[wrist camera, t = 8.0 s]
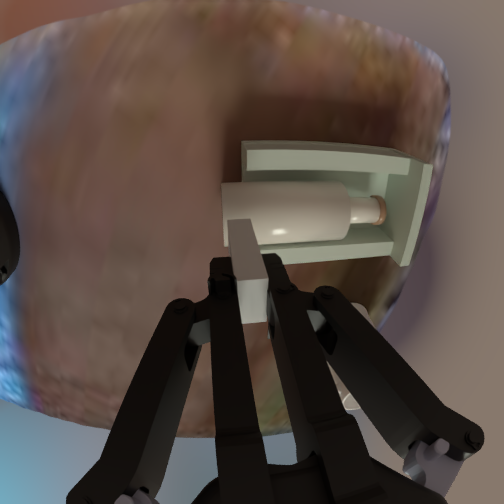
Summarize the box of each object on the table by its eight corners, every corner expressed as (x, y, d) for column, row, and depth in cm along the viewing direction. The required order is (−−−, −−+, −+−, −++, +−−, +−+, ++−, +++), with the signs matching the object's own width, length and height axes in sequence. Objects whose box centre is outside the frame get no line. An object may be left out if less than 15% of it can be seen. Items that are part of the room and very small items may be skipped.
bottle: (225, 260, 22) (384, 248, 23) (222, 199, 19) (399, 197, 20) (222, 225, 26) (361, 219, 28) (220, 173, 23) (371, 174, 25)
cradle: (242, 243, 28) (250, 281, 23) (241, 140, 23) (250, 153, 18) (379, 235, 30) (408, 265, 25) (394, 148, 25) (433, 164, 19)
